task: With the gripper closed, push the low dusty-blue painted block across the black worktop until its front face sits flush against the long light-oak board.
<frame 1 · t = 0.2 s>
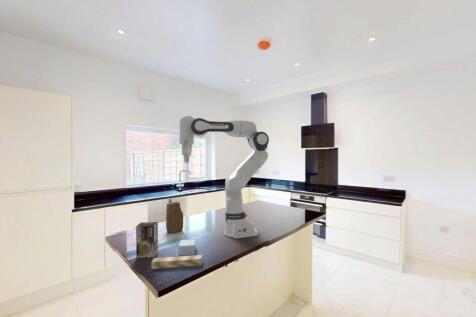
hand: (186, 162, 135), 47 cm above the countertop, fingers open, 8 cm apart
coffee box: (147, 255, 108), on the countertop
blue block: (187, 252, 111), on the countertop
oak board: (177, 264, 97), on the countertop
block: (174, 231, 143), on the countertop
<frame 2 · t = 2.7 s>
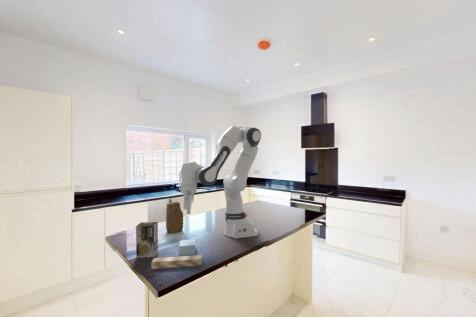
hand: (188, 213, 121), 18 cm above the countertop, fingers closed
nothing on the countertop moved.
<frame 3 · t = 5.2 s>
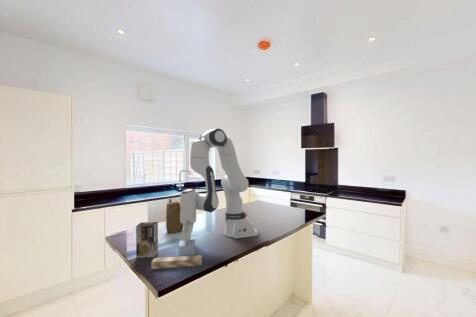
hand: (188, 243, 117), 2 cm above the countertop, fingers closed
blue block: (187, 252, 111), on the countertop, touching gripper
everything else where it was.
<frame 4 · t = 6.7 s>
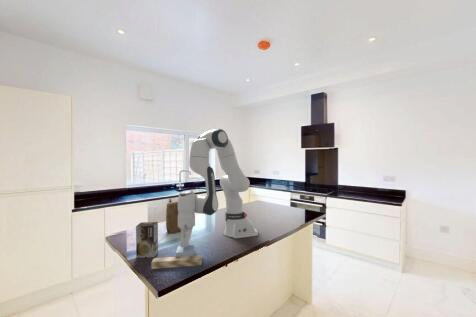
hand: (186, 249, 109), 2 cm above the countertop, fingers closed
blue block: (185, 258, 103), on the countertop, touching gripper, oak board
everything else where it was.
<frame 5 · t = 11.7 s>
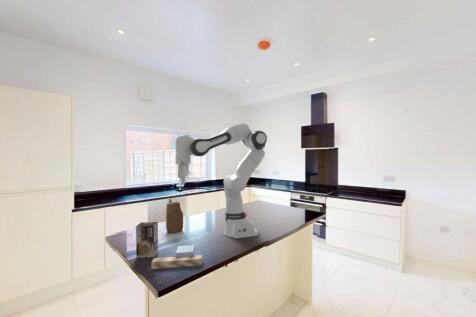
hand: (183, 184, 127), 34 cm above the countertop, fingers closed
blue block: (185, 259, 103), on the countertop
everything else where it was.
at the end: blue block inside the target area on the countertop beside the oak board (1.0 cm from its centre), on the countertop; blue block tilted 0° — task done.
